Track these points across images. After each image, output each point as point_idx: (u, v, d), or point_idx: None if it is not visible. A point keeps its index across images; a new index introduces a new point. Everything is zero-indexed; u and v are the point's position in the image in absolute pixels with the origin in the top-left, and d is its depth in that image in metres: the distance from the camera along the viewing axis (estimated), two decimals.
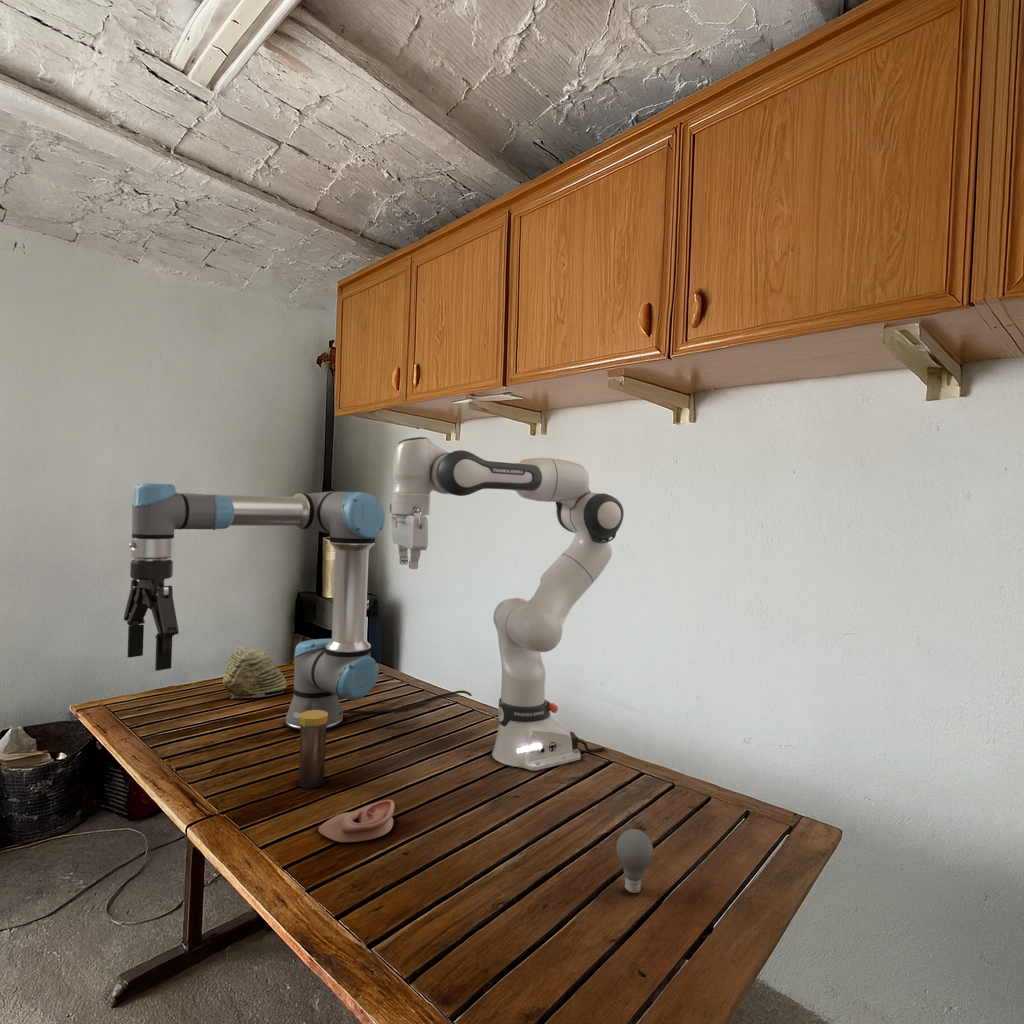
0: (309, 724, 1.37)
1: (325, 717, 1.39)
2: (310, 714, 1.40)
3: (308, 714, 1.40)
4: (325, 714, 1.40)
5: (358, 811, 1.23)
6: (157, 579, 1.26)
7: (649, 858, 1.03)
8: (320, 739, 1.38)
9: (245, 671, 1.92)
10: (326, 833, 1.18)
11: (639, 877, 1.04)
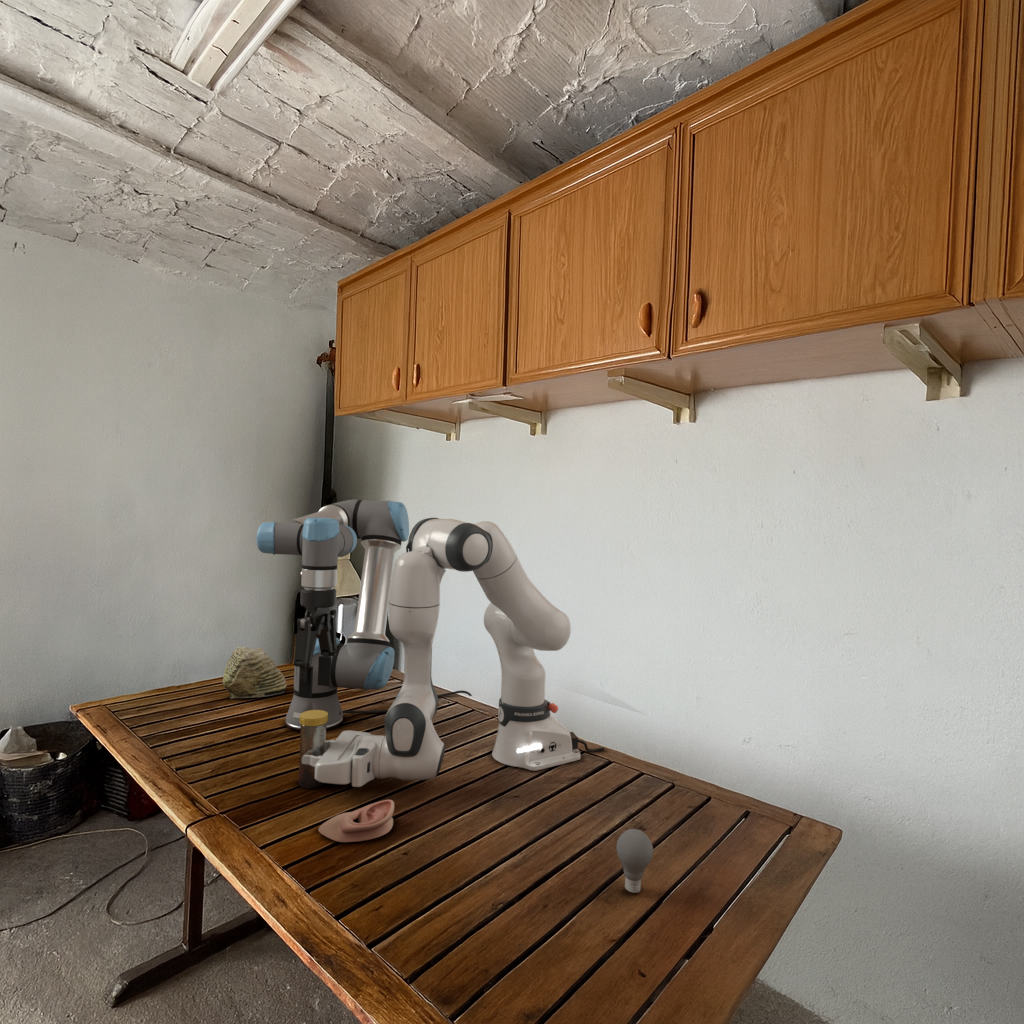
0: (309, 724, 1.37)
1: (325, 717, 1.39)
2: (310, 714, 1.40)
3: (308, 714, 1.40)
4: (325, 714, 1.40)
5: (358, 811, 1.23)
6: (308, 607, 1.36)
7: (649, 858, 1.03)
8: (320, 739, 1.38)
9: (245, 671, 1.92)
10: (326, 833, 1.18)
11: (639, 877, 1.04)
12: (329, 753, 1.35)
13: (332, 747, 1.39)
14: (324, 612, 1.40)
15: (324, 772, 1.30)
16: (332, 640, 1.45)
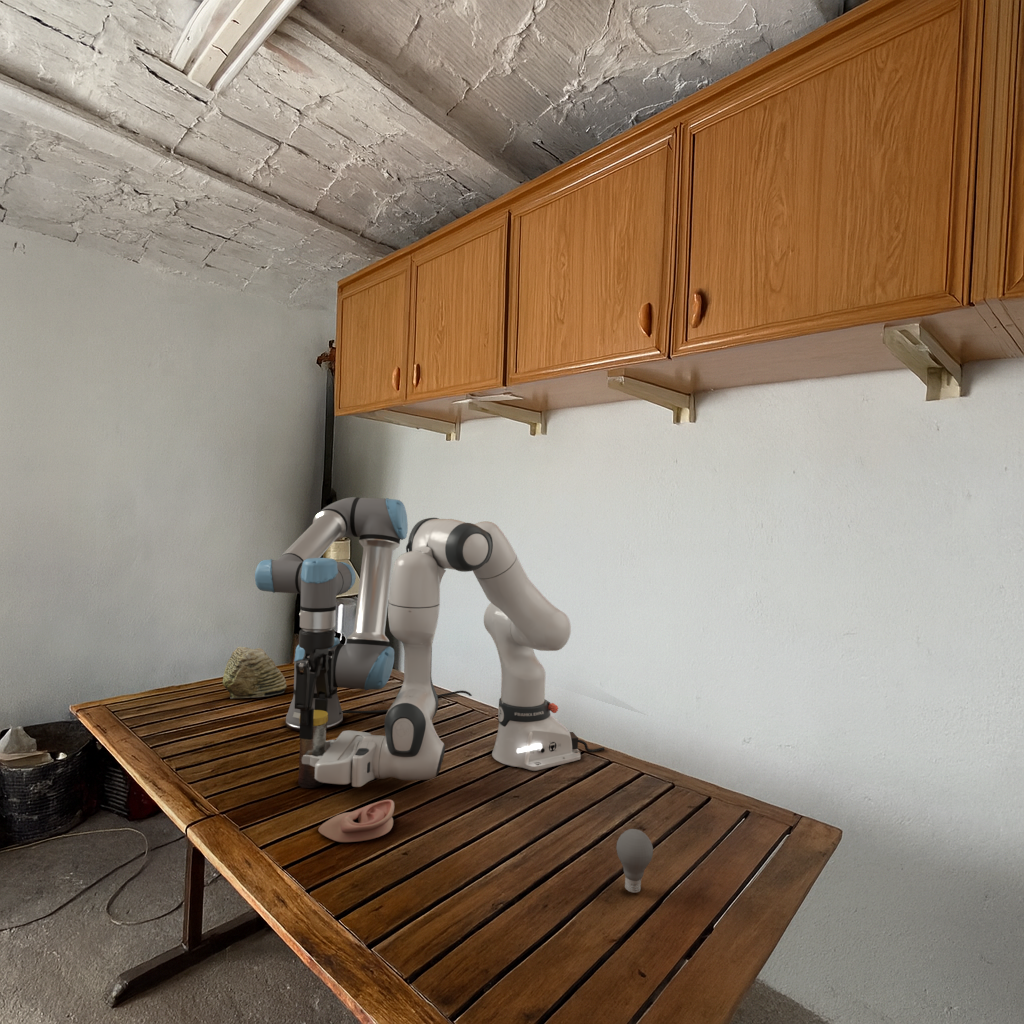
0: None
1: (325, 717, 1.39)
2: None
3: None
4: (325, 714, 1.40)
5: (358, 811, 1.23)
6: (306, 649, 1.36)
7: (649, 858, 1.03)
8: (320, 739, 1.38)
9: (245, 671, 1.92)
10: (326, 833, 1.18)
11: (639, 877, 1.04)
12: (329, 753, 1.35)
13: (332, 747, 1.39)
14: (322, 653, 1.40)
15: (324, 772, 1.30)
16: (329, 681, 1.45)
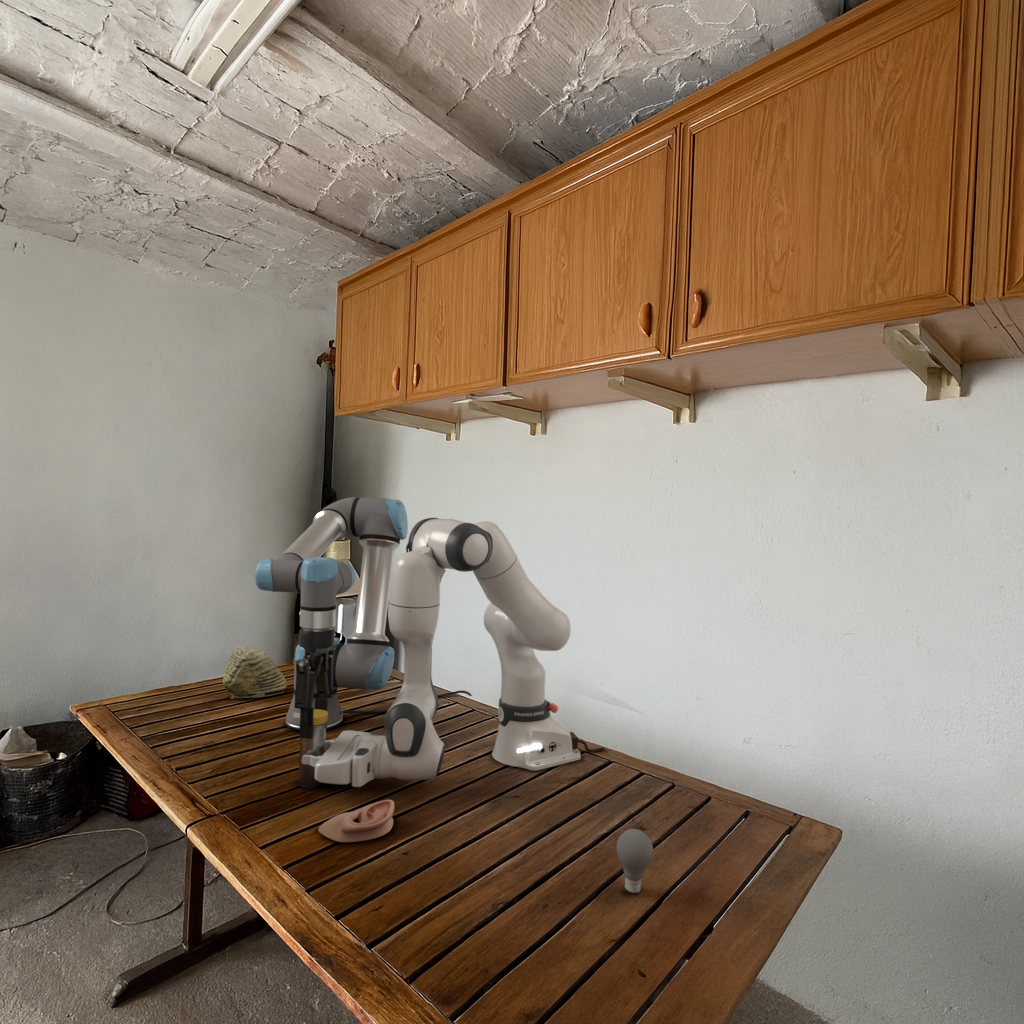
0: (324, 721, 1.38)
1: None
2: None
3: None
4: (321, 710, 1.42)
5: (358, 811, 1.23)
6: (306, 649, 1.36)
7: (649, 858, 1.03)
8: (320, 739, 1.38)
9: (245, 671, 1.92)
10: (326, 833, 1.18)
11: (639, 877, 1.04)
12: (329, 753, 1.35)
13: (332, 747, 1.39)
14: (322, 652, 1.40)
15: (324, 772, 1.30)
16: (329, 681, 1.45)
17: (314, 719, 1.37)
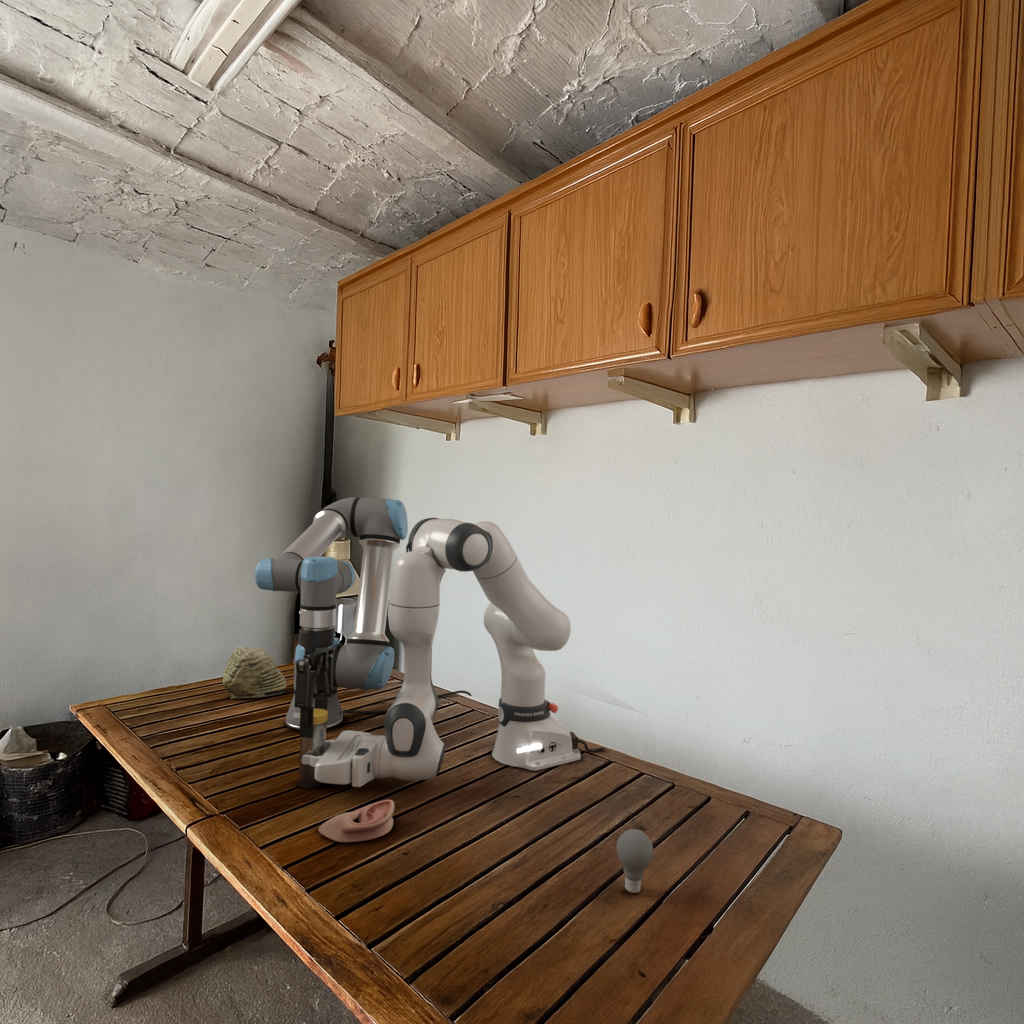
0: None
1: None
2: (316, 713, 1.39)
3: (316, 714, 1.39)
4: None
5: (358, 811, 1.23)
6: (306, 648, 1.36)
7: (649, 858, 1.03)
8: (320, 739, 1.38)
9: (245, 671, 1.92)
10: (326, 833, 1.18)
11: (639, 877, 1.04)
12: (329, 753, 1.35)
13: (332, 747, 1.39)
14: (322, 651, 1.40)
15: (324, 772, 1.30)
16: (329, 680, 1.45)
17: (326, 715, 1.39)
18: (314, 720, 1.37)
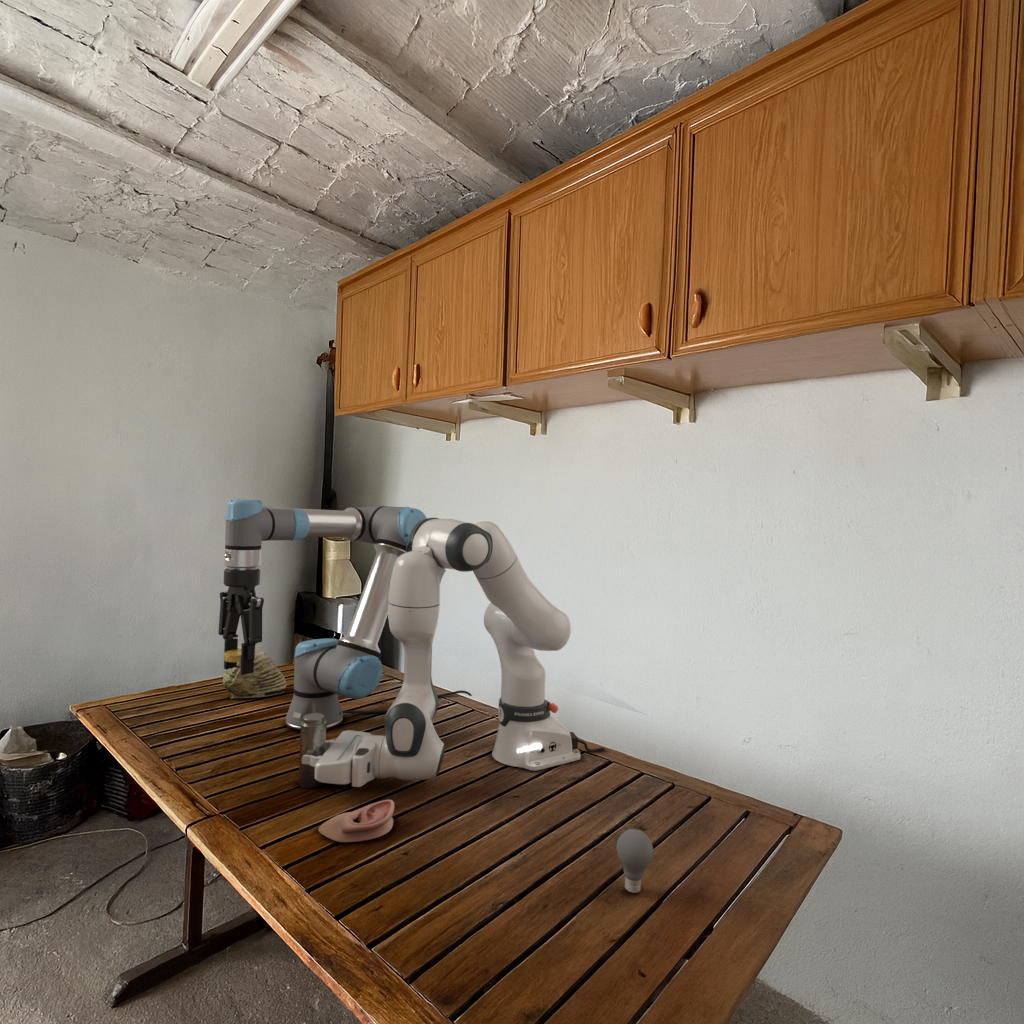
0: None
1: None
2: None
3: None
4: (226, 652, 1.41)
5: (358, 811, 1.23)
6: (250, 587, 1.40)
7: (649, 858, 1.03)
8: (320, 739, 1.38)
9: None
10: (326, 833, 1.18)
11: (639, 877, 1.04)
12: (329, 753, 1.35)
13: (332, 747, 1.39)
14: None
15: (324, 772, 1.30)
16: None
17: None
18: None
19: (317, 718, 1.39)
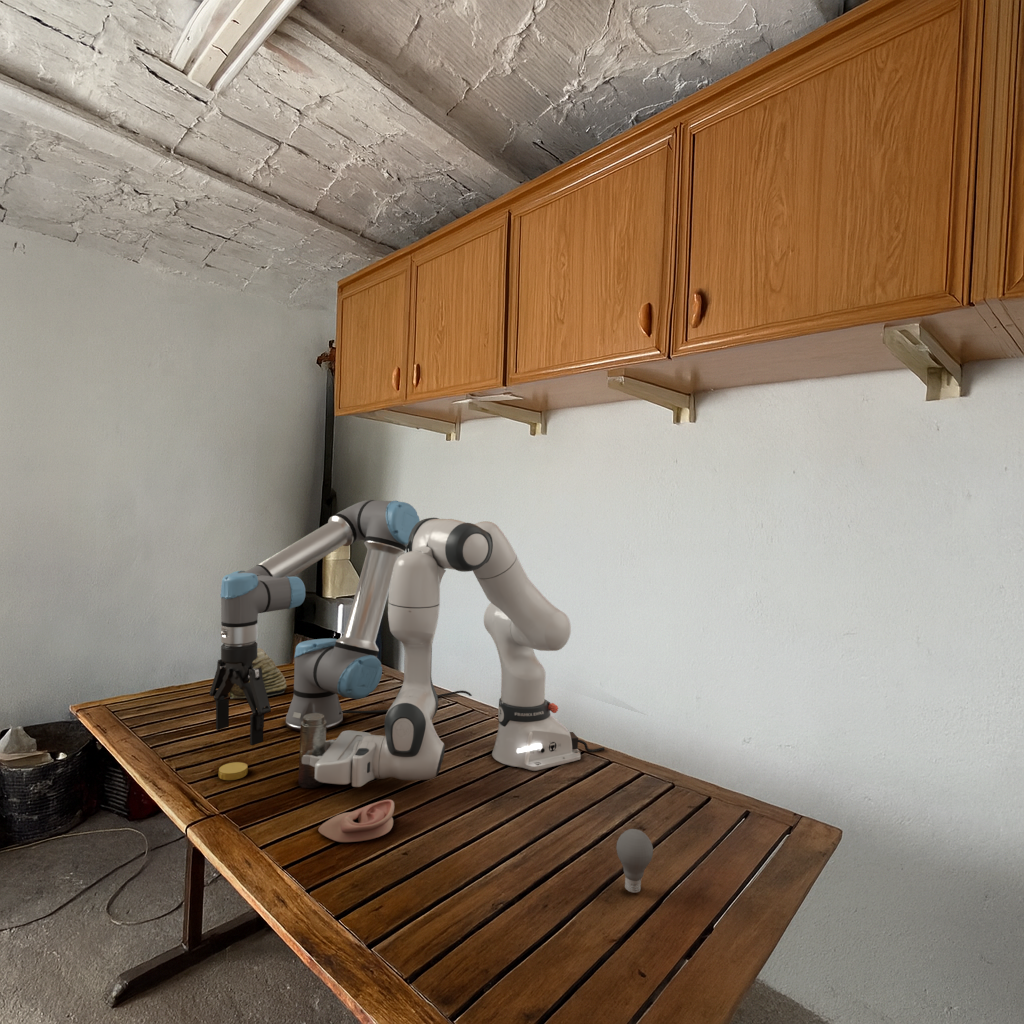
0: None
1: None
2: (237, 767, 1.43)
3: (238, 767, 1.43)
4: (221, 768, 1.42)
5: (358, 811, 1.23)
6: (247, 662, 1.40)
7: (649, 858, 1.03)
8: (320, 739, 1.38)
9: None
10: (326, 833, 1.18)
11: (639, 877, 1.04)
12: (329, 753, 1.35)
13: (332, 747, 1.39)
14: None
15: (324, 772, 1.30)
16: None
17: None
18: (245, 771, 1.42)
19: (317, 718, 1.39)
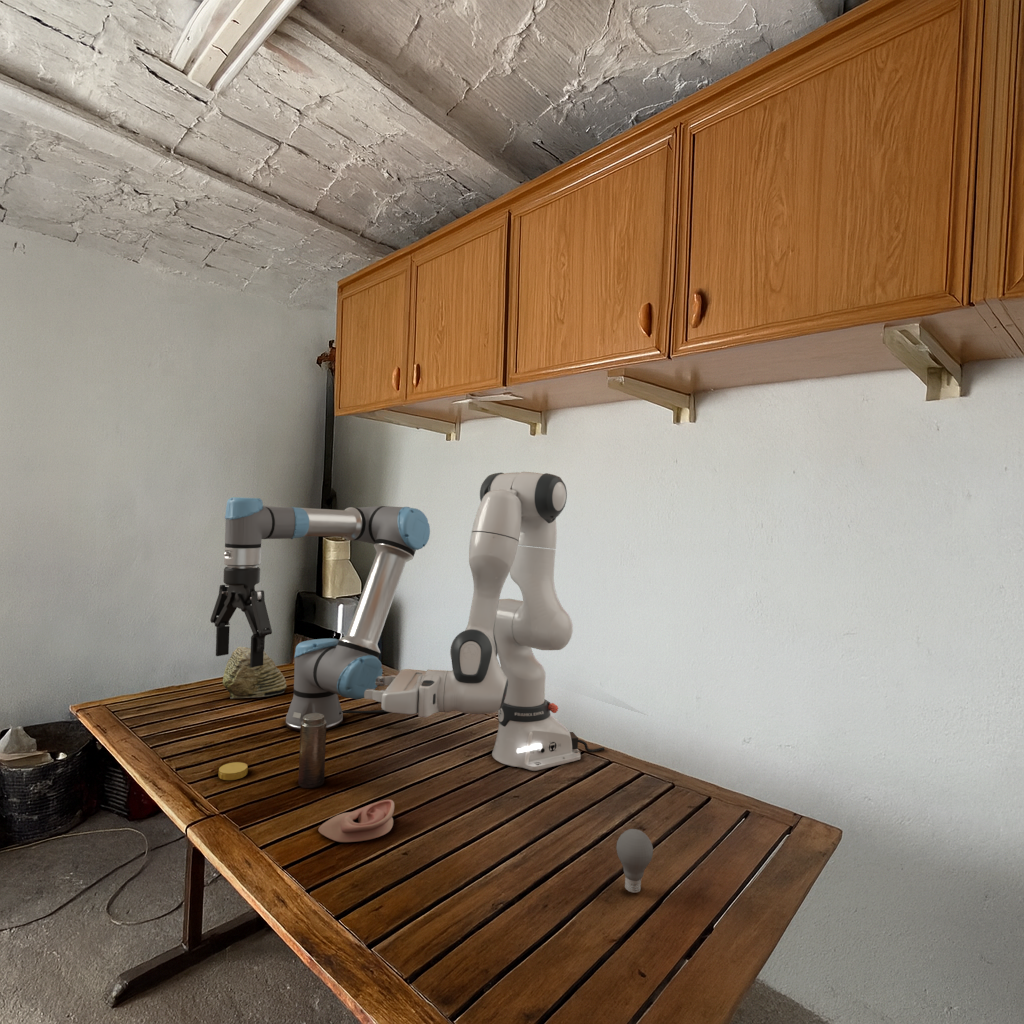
0: None
1: None
2: (237, 767, 1.43)
3: (238, 767, 1.43)
4: (221, 768, 1.42)
5: (358, 811, 1.23)
6: (249, 585, 1.40)
7: (649, 858, 1.03)
8: (320, 739, 1.38)
9: (245, 671, 1.92)
10: (326, 833, 1.18)
11: (639, 877, 1.04)
12: (393, 685, 1.35)
13: (395, 681, 1.38)
14: None
15: (391, 702, 1.29)
16: None
17: None
18: (245, 771, 1.42)
19: (317, 718, 1.39)
